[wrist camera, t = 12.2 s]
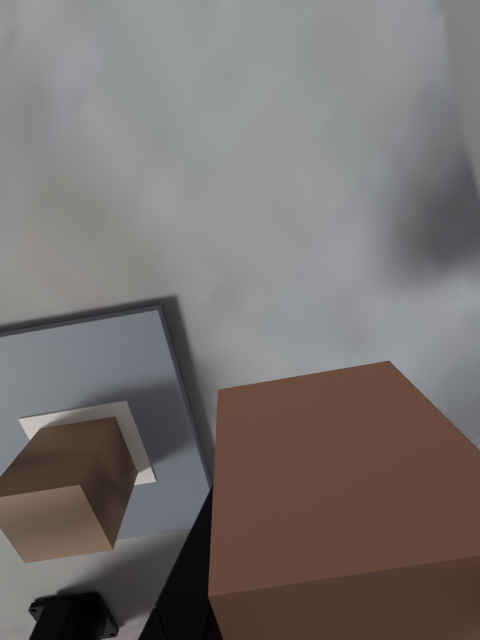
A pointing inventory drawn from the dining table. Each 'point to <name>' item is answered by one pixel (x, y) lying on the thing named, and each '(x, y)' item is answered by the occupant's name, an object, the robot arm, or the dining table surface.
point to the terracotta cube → (343, 512)
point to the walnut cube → (67, 491)
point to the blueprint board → (110, 405)
